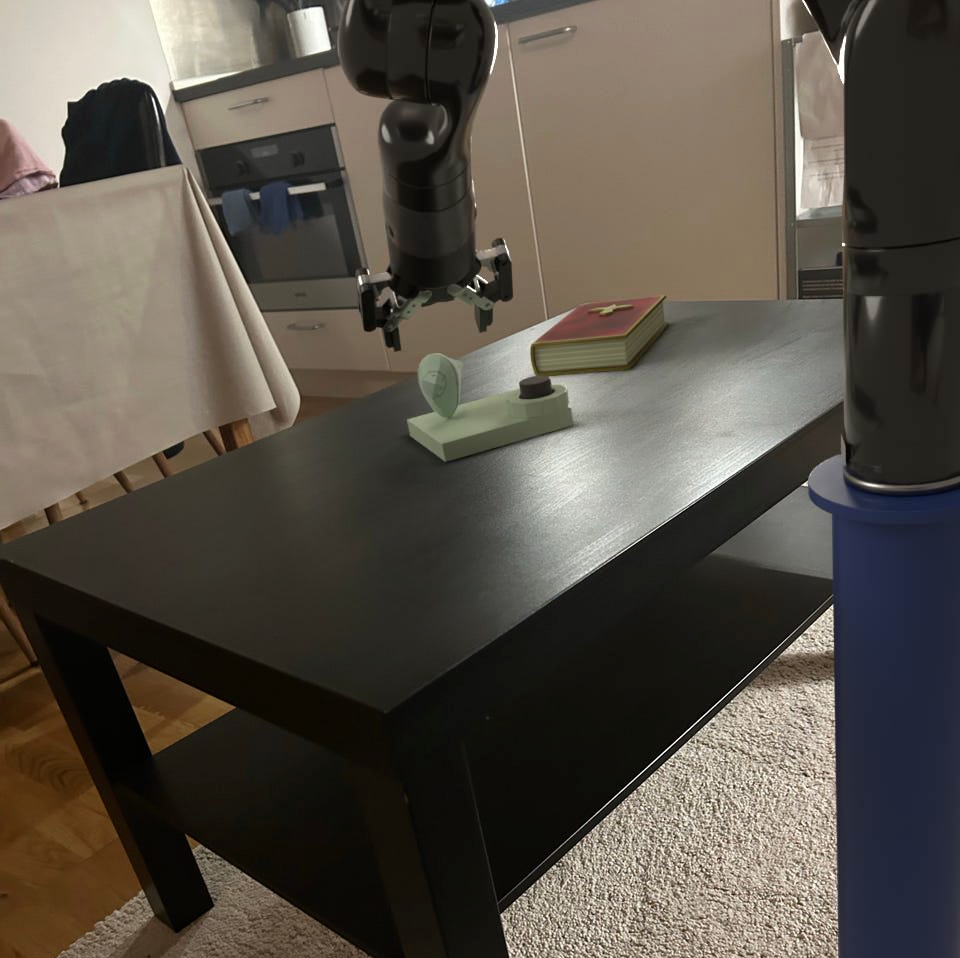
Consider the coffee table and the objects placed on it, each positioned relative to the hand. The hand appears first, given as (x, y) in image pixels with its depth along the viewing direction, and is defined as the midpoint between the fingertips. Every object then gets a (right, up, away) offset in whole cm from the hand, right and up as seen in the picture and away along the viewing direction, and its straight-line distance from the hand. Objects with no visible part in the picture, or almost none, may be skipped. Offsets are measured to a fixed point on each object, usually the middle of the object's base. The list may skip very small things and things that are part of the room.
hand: (438, 334), depth 99 cm
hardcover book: (+20, +7, +30) cm, 37 cm away
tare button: (+10, -5, +4) cm, 12 cm away
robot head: (+1, -7, +7) cm, 10 cm away
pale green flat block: (+5, -8, +7) cm, 12 cm away
